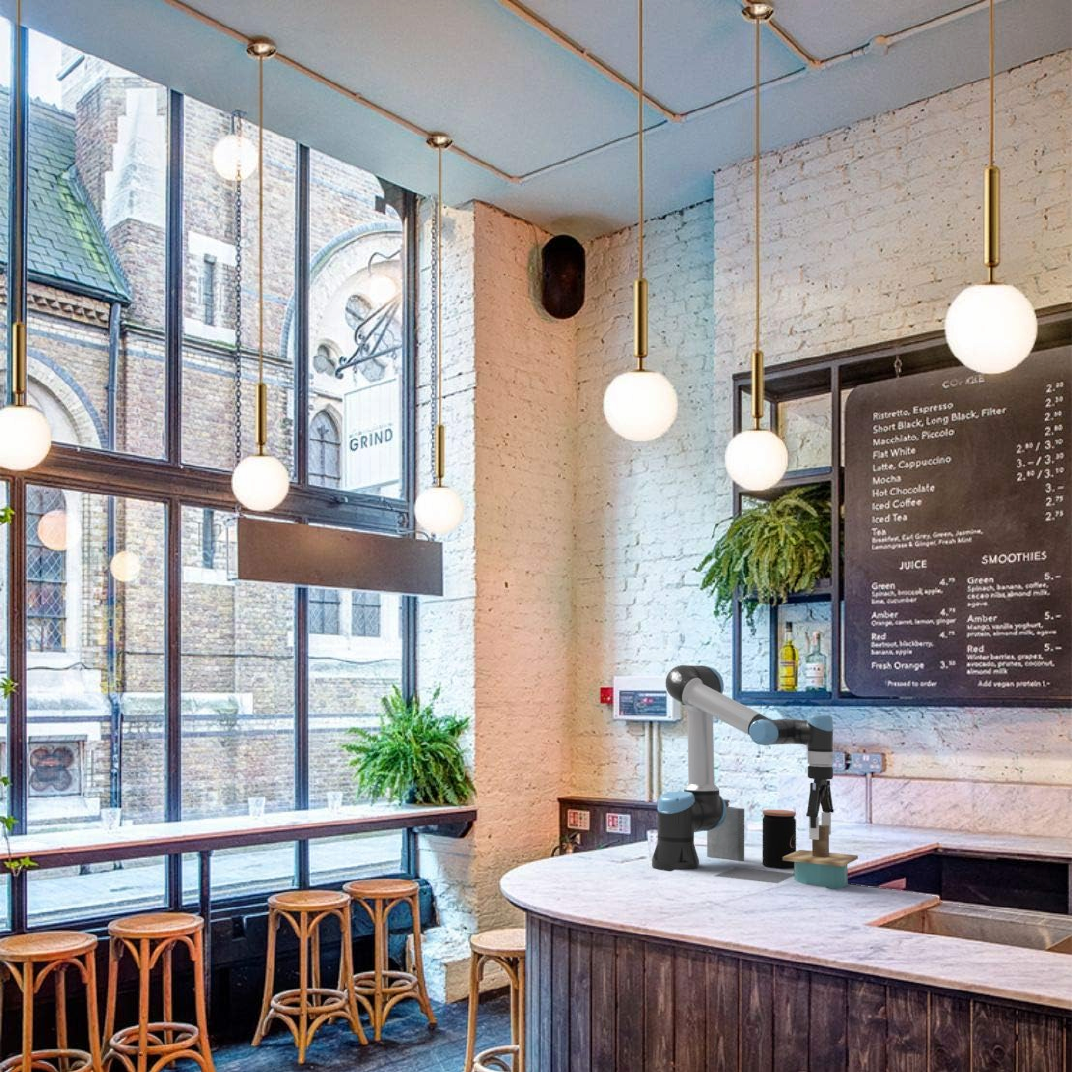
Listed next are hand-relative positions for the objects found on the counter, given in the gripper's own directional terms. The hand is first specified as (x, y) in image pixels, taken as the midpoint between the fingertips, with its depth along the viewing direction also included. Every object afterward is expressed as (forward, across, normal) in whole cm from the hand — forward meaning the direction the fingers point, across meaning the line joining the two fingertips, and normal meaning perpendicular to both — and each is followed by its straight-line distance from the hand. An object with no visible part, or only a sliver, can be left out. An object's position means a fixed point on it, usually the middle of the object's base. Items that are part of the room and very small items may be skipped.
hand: (820, 836), depth 350 cm
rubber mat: (+14, -1, +20) cm, 24 cm away
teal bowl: (+14, 0, 0) cm, 14 cm away
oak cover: (+7, 0, 0) cm, 7 cm away
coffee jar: (+14, +20, +19) cm, 31 cm away
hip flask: (+14, +26, +40) cm, 50 cm away
